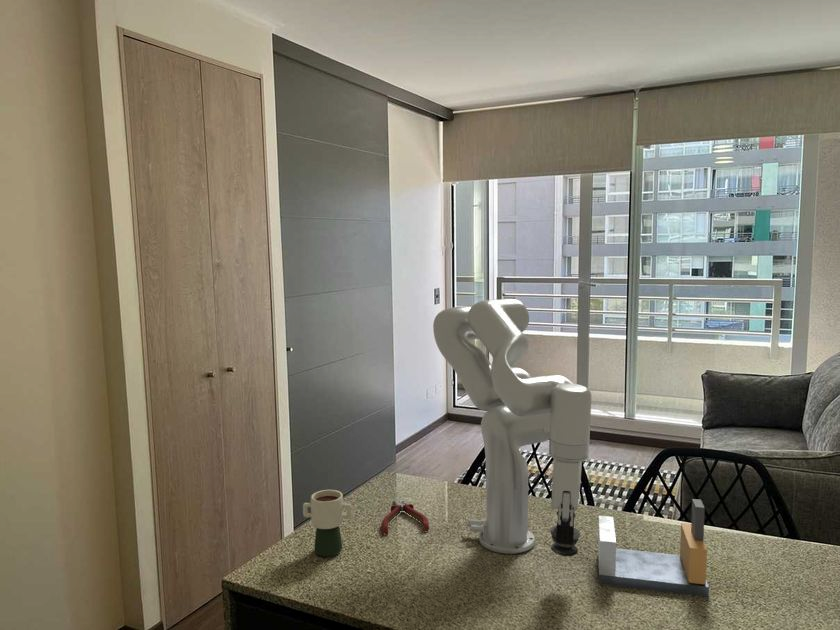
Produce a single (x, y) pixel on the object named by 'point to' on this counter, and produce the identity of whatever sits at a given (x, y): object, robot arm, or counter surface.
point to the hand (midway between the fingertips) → (565, 534)
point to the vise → (641, 566)
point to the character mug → (327, 520)
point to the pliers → (408, 509)
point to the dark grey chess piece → (563, 548)
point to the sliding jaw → (694, 545)
